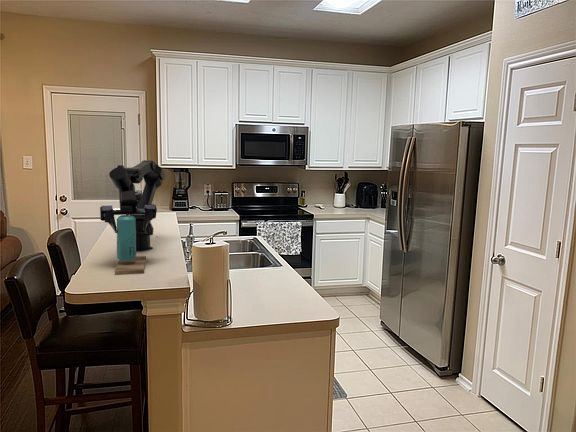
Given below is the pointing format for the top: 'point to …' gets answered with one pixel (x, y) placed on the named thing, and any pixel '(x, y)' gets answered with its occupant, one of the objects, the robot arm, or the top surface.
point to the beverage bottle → (126, 235)
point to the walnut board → (131, 266)
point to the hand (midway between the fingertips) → (130, 231)
